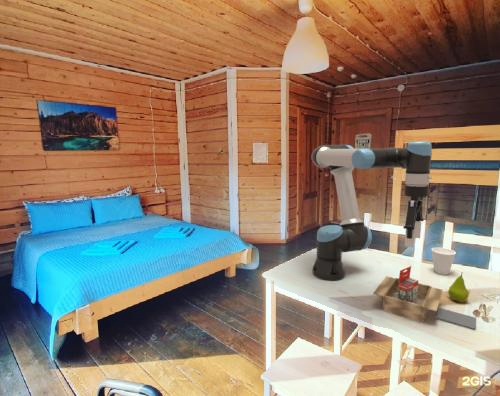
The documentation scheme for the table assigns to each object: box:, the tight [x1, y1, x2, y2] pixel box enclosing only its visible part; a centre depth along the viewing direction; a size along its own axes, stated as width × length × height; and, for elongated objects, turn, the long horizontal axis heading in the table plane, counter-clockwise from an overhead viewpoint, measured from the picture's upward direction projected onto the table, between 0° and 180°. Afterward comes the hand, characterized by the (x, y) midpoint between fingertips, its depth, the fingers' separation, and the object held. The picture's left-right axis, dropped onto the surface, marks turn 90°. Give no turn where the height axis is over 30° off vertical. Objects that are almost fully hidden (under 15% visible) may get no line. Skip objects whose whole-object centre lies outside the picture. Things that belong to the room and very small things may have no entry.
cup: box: [430, 247, 457, 276], centre depth 140 cm, size 10×10×11 cm
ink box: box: [397, 265, 419, 304], centre depth 111 cm, size 4×8×15 cm, turn 123°
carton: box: [372, 275, 443, 323], centre depth 112 cm, size 20×19×6 cm
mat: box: [436, 307, 477, 331], centre depth 102 cm, size 11×8×1 cm
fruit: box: [447, 273, 470, 303], centre depth 114 cm, size 6×6×12 cm
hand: (412, 242), depth 108 cm, fingers open, 13 cm apart
